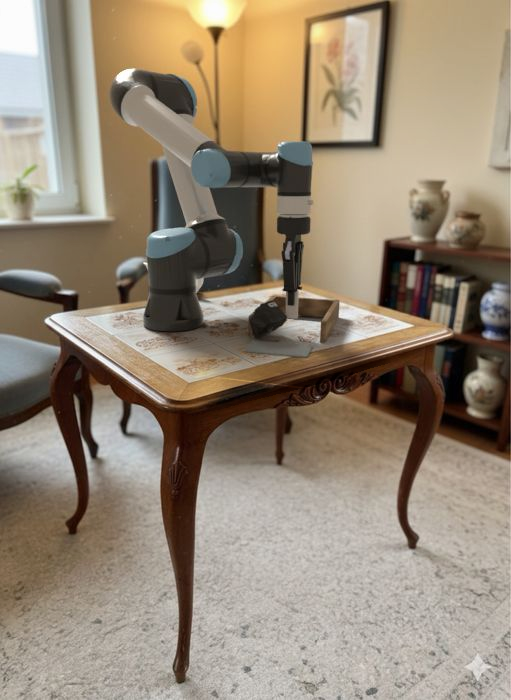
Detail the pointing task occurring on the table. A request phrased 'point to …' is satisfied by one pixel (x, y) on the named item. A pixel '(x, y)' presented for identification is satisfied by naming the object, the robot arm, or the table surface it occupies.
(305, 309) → the open wooden frame
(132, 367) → the table surface
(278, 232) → the robot arm
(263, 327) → the rock
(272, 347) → the mat
